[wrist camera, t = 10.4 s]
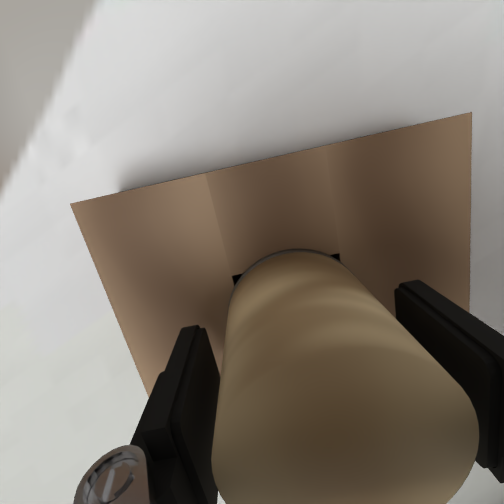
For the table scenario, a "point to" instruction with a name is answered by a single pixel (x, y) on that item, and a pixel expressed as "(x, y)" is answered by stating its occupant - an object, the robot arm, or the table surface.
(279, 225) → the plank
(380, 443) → the peg
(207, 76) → the table surface
